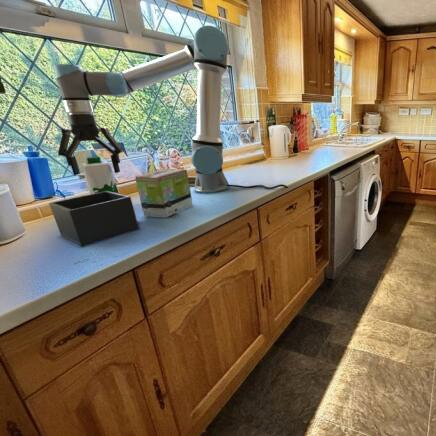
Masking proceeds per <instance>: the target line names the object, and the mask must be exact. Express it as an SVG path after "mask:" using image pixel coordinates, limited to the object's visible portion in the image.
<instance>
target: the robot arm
mask: <svg viewBox="0 0 436 436" xmlns="http://www.w3.org/2000/svg"><path fill="white" fill-rule="evenodd" d="M229 46H230V45H229V42H228V39H227V37H226V35H225V34H224V32H223V31H222V30H221V29H219V28H218V27H215V26H214V25H203V26H201V27H199V28H198V29H197V30H196V32H195V33H194V36H193V42H191V43H189V44H186V45H185V46H184V49H181V50H179V51H176V52H172V53H170V54H167V55H164V56H162V57H159V58H156V59H153V60H150V61H149V62H145V63H141V64H139V65H137V66H133V67H130V68H128V69H126V70H122V71H120V72H118V71H117V72H115V71H83V69H82V67H81V66H80V65H78V64H68V63H57V64H55V65H54V66H53V71H54V75H55V81H56V83H57V85H58V89H59V91H60V96H61V98H62V103H63V106H64V109H65V112H66V113H67V119H68V122H69V125H70V128H61V130H60V131H61V139H60V142H59V147H58V151H57V155H58V156H60V157H64V158H65V159H66V162H67V165H68V167H71V171H72V174H73V176H78V175H80V174H81V172H80V168H79V164H78V162H77V158H76V156H75V155H74V153H75V152H76V150H77V148H78V147H79V145H80V143H81V142H86V141H87V142H92V141H93V142H96V143H98V144H99V145H100V146H102V147H103V148H104V149H105V150H107V151H108V152H109V154H111V155H110V156H109V157H110V159H111V160H110V161H111V164H112V168H113V171H114V173H115V174H118V173H121V168H120V163H121V159H120V154H121V153H123V152H124V149H123V147H122V146H121V145H120V144H119V143H118V142H117V140H116V139H115V138H114V137H113V135H112V134H111V133H110V131H109V128H108V127H107V126H104V127H98V125H97V121H96V116H95V115H94V113H93V112H94V109H93V106H92V103H91V99H90V96H110V97H114V98H119V99H120V98H124V97H126V96H127V95H129V94H131V93H133V92H136V91H139V90H141V89H144V88H147V87H149V86H153V85H155V84H158V83H161V82H163V81H166V80H169V79H171V78H174V77H176V76H179V75H182V74H185V73H187V72H190V71H192V70H196V71H197V101H196V102H197V104H196V106H197V108H196V134H195V135H194V136H193V137H192V140H191V141H190V149H191V158H190V159H191V160H190V161H191V164H192V166H193V167H194V170H195V176H196V181H195V186H194V192H195V193H198V194H215V193H221V192H224V191H227V190H228V189H229V188H240V189H253V188H264V189H266V190H274V189H277V188H280V187H284V188H285V189H288V188H289V186H287V185H285V184H277V185H274V186H266V185H263V184H255V185H239V184H238V185H237V184H229V181H228V179H227V177H226V175H225V174H224V171H223V164H224V158H223V150H224V149H223V147H224V146H223V145H224V142H223V140H222V139H221V138H220V127H221V106H222V86H223V85H222V83H223V82H222V81H223V80H222V79H223V74H225V73H226V72H227V63H228V53H229V50H230V48H229ZM72 134H73V135H74V137H73V139H72V141H71V143H70V139H71V135H72ZM99 134H102V135H103V136H104V138H105V139H106V140H107V141H106V140H104V138H103V137H101V135H99ZM69 143H70V145H69Z"/></svg>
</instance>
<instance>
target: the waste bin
mask: <svg viewBox="0 0 436 436" xmlns="http://www.w3.org/2000/svg"><path fill="white" fill-rule="evenodd" d="M118 193H119V192H118ZM118 193H114V192H110V191H104V192H100V193H95V194H90V193H89V194H86V195H82V196H76V197H70V198H67V199H62V200H57V201H51V202H48V203H49V206H50V210H51V212H52V215H53V218H54V220H55V223H56V227H57V229H58V231H59V234H60V236H61V237H62V238H64V239H66V240H67V241H70V242H71V243H73V244H75V245H77V246H79V247H81V248H83V247H86V246H89V245H92V244H96V243H99V242H102V241H105V240H108V239H111V238H114V237H118V236H121V235H124V234H127V233H130V232H133V231H136V230H140V228H139V224H138V220H137V216H136V212H135V209H134V205H133V201H132V198H131V196H130V195H125V194H123V193H119V194H118Z"/></svg>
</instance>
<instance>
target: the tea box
mask: <svg viewBox="0 0 436 436" xmlns="http://www.w3.org/2000/svg"><path fill="white" fill-rule="evenodd" d="M188 176H189V175H188V171H187V169H184V168H183V169H180V168H177V169H175V168H165V169H161V170H156V171H151V172H149V173H145V174H141V175H137V176H135V183H136V187H137V192H138V196H139V201H140V205H141V210H142V213H143V216H144V217H147V218H164V219H166V218H169V217H170V216H172V215H174V214H177V213H179V212H181V211H183V210H185V209H188V208H190V207H193V204H194V203H193V198H192V193H191V188H190V187H191V186H189V181H188Z"/></svg>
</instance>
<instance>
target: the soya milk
mask: <svg viewBox="0 0 436 436" xmlns="http://www.w3.org/2000/svg"><path fill="white" fill-rule="evenodd" d="M86 161H87V162H86V163H81V166H82V172H83V173H82V174H83V175H84V180H85V182H86V186H87V189H88V192H89V195H90V194H95V193H100V192H104V191H110V192H114V193H118V194H120V193H119V189H118V186H117V183H116V179H115V176H114V173H113V171H114V170H113V168H112V167H111V165H110V162H108V161H106V160H105V161H102V160H101V157H100V156H88V157H86Z"/></svg>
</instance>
